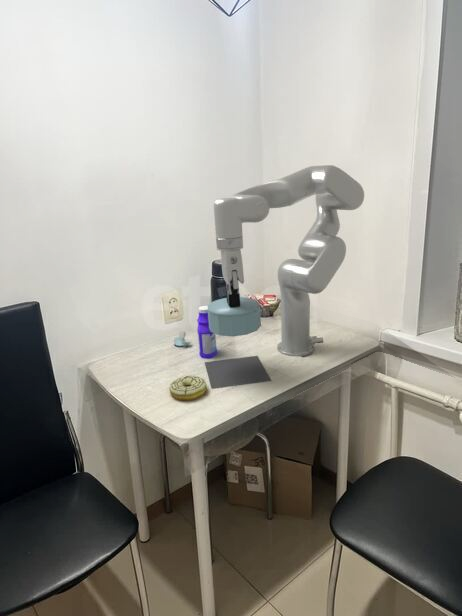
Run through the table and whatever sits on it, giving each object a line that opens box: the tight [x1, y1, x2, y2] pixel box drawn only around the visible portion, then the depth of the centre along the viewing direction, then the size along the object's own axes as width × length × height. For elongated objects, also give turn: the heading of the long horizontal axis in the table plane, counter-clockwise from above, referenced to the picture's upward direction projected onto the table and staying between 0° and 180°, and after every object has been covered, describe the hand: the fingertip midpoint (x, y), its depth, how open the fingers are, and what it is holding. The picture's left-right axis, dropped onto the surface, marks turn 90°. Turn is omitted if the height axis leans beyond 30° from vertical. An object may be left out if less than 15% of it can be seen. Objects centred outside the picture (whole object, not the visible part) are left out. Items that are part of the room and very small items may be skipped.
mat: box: [204, 355, 273, 390], centre depth 129 cm, size 18×18×1 cm
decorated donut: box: [168, 375, 208, 402], centre depth 118 cm, size 10×11×4 cm
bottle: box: [196, 305, 218, 359], centre depth 139 cm, size 7×6×17 cm
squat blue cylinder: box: [207, 289, 262, 337], centre depth 123 cm, size 15×15×11 cm
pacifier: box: [171, 329, 192, 350], centre depth 150 cm, size 7×6×6 cm
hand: (233, 304), depth 122 cm, fingers closed on squat blue cylinder, 3 cm apart
